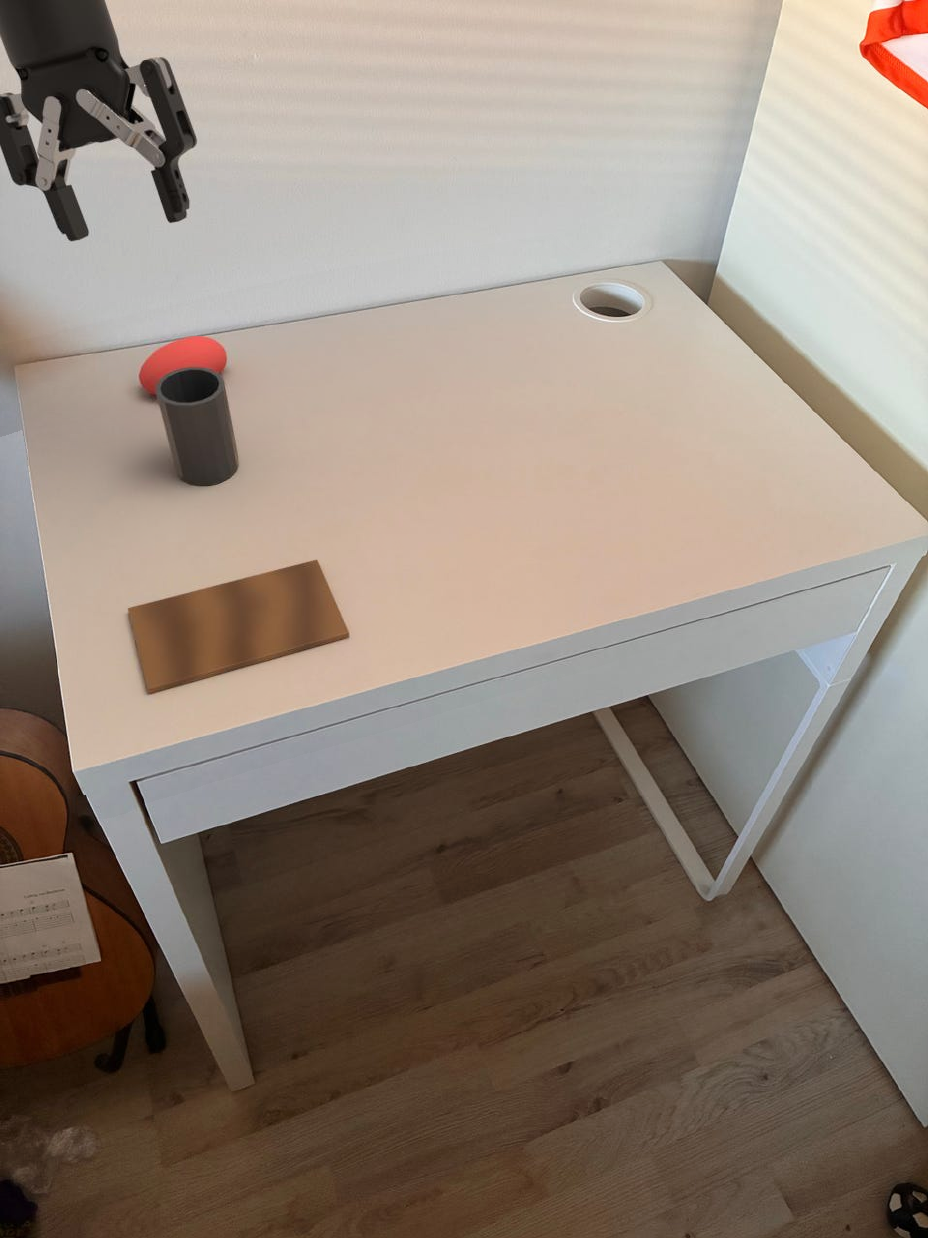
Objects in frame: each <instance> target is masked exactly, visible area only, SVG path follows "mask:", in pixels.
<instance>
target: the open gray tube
mask: <svg viewBox="0 0 928 1238" xmlns="http://www.w3.org/2000/svg"><path fill="white" fill-rule="evenodd" d="M155 391H156V395H155V396H156V398H157V404H158V407H159V410H160V414H161V418H162V422H163V426H164V430H165V434H166V438H167V443H168V445H169V450H170V454H171V458H172V462H173V465H174V469H175V473H176V475H177V476H178V478H180V480H181V481H183V482H184V483H187V484H189V485H194V486H201V487H203V486H205V487H206V486H213V485H218V484H221V483H223V482H225V481H227V480H229V479H230V478H231V477H232V476H234V475H235V473H236V472H237V471H238V469H239V467H240V466H239V465H240V461H239V454H238V448H237V443H236V442H237V441H236V437H235V431H234V426H233V421H232V415H231V410H230V405H229V400H228V394H227V388H226V384H225V380H224V378H223V376H222V375H221V373H220V374H218V373H217V372H215V371H214V370H211V369H207V368H204V367H187V368H182V369H177V370H174V371H172V372H170V373H168V374H166V375H164V376H163V377H162V378H161V379H160V380H159V381H158V383H157V385H156V388H155Z"/></svg>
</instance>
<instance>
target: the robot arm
mask: <svg viewBox="0 0 928 1238" xmlns="http://www.w3.org/2000/svg"><path fill="white" fill-rule="evenodd" d="M0 40H1V42H2V45H3V47H4V50H5V53H6V55H7V58H8V60H9V62H10V64H11V66H12V68H13V69H14V70H15V72H16V73H17V75H18V77H19V81H20V93H13V92H4V93H0V149H1V152H2V155H3V158H4V161H5V163H6V166H7V169H8V173H9V175H10V178H11V180H12V181H13V183H14V184H15V185H16V186H29V187H34V188H38V190H40V191H41V192H42V193H43V195H44V197H45V200H46V202H47V204H48V207H49V210H50V213H51V214H52V218H53V220H54V222H55V225H56V227H57V229H58V230H59V232H60V233H61V234H62V235H65V236H66V238H67V240H68V241H70V242H75V241H80V240H83V239H84V238H87V237H88V236H89V233H90V231H89V228H88V224H87V223H86V220H85V217H84V214H83V211H82V209H81V207H80V204H79V201H78V198H77V196H76V193H75V191H74V188H73V186H72V184H68V185H67V181H68V176H69V172H70V168H71V167H70V166H71V162H72V159H73V158H74V157H75V155H76V152H77V149H78V148H82V147H86V146H90V145H92V144H94V143H98V144H99V143H106V142H111V141H115V140H119V141H121V142H122V143H123V144H124V145H126V146H128V147H130V148H133V149H134V150H135V151H136V152H137V153H138V154H139V155H140V156H142V157H143V158H144V159H145V160H146V161H148V163H149V164H151V165H152V167H154V169H153V170H150V173H151V176H152V180H153V183H154V185H155V188H156V191H157V194H158V197H159V200H160V203H161V206H162V210H163V212H164V215H165V218H166V220H167V222H168V223H169V224H173V223H178V222H181V221H183V220H185V219H187V216H188V213H187V210H189V209H190V198H189V195H188V192H187V189H186V187H185V186H186V185H185V182H184V179H183V176H182V172H181V170H180V166H179V161H180V158H181V157H182V156H183V155H185V153H187V152H189V151H190V150H191V149H194V148H195V147H197V144H198V139H197V136H196V133H195V130H194V127H193V124H192V122H191V119H190V116H189V113H188V111H187V108H186V105H185V102H184V100H183V96H182V94H181V91H180V89H179V86H178V82H177V80H176V77H175V74H174V72H173V69H172V67H171V64H170V62H169V60H167V58H165V57H163V56H160V57H150V58H147V59H143V60H142V61H141V62H140V64H137V65H133V66H129V65H128V64H127V62H126V61H125V59H124V58H123V56H122V54H121V51H120V50H121V49H120V45H119V39H118V36H117V33H116V29H115V27H114V24H113V20H112V17H111V15H110V11H109V9H108V5H107V3H106V0H0ZM137 86H138V87H139V89H140V91H141V92H142V94H143V95H144V96H145V97H147V98H149V99H150V102H151V104H152V107H153V108H154V112H155V114H156V117H157V119H158V123H159V125H160V128H161V130H162V132H163V135H162V134H161V133H160V132H159V131H158V130H157V128H156V126H155V124H154V123H153V122H152V121H151V120H150V119H149V118H148V117H147V116H146V115H144V114H143V113H142V112H141V111H140V110H139V109H138V108H137V107H135V105H133V102H134V98H135V93H136V88H137ZM30 114H31V115H32V116H33V118H35V119H36V120H37V121H38V122H39V123H40V124H41V129H40V134H39V140H38V144H37V145H38V146H37V150H36V147H35V144H34V142H33V138H32V136H31V131H30V130H29V127H28V123H29V120H30Z"/></svg>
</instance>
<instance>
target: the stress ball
mask: <svg viewBox="0 0 928 1238" xmlns="http://www.w3.org/2000/svg"><path fill="white" fill-rule="evenodd" d="M227 361H228V356H227V351H226V349H225V347H224V346H223V344H221V343H220V342H219V341H217V340H216V339H215V338H212V337H207V336H203V335H191V336H188V337H183V338H180V339H177V340H175V341H174V340H173V341H172V342H169V343H167V344H165V345H163V346H160V347H159V348H158V349H157V350H155V351H154V352H153V353H151V354H150V356H149V357H147V358H146V359H145V361H144V362H143V364H142V365H141V367H140V371H139V373H138V380H139V384H140V385H141V387H142V388H143V389H144V390H145V391H146V392H147V393H149V394H151V395H155V396H157V395H156V391H155V388H156V385H157V383H158V381H159V380H160V379H161V378H162V377H163V376H164V375H166V374H168V373H170V372H172V371H174V370H177V369H182V368H187V367H204V368H207V369H211V370H214V371H215V372H217V373H218V374H220V375H221V373H222V372H223V371H224V369H225V368H226V366H227V363H228V362H227Z"/></svg>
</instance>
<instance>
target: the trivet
mask: <svg viewBox="0 0 928 1238" xmlns="http://www.w3.org/2000/svg"><path fill="white" fill-rule="evenodd" d="M127 611H128V617H129V619H130V623H131V628H132V632H133V636H134V640H135V641H134V642H135V645H136V648H137V653H138V657H139V661H140V665H141V670H142V673H143V679H144V683H145V687H146V690H147V693H148V695H149V694H153V693H157V692H161V691H165V690H169V689H171V688H175V687H178V686H181V685H185V684H189V683H192V682H193V683H194V682H196V681H199V680H203V679H207V678H210V677H213V676H216V675H220V674H224V673H227V672H231V671H234V670H235V671H236V670H238V669H241V668H245V667H248V666H253V665H256V664H259V663H263V662H266V661H270V660H274V659H277V658H280V657H284V656H287V655H291V654H294V653H298V652H301V651H306V650H309V649H311V648H312V649H313V648H316V647H319V646H322V645H326V644H331V643H333V642H337V641H340V640H343V639H347V638H350V631H349V630H348V626H347V625H346V622H345V620H344V618H343V615H342V613H341V611H340V607H339V606H338V604H337V601H336V600H335V597H334V595H333V593H332V590H331V588H330V585H329V584H328V581H327V578H326V577H325V574H324V571H323V569H322V567H321V564H320V563H319V560H318V559H314V560H309V561H305V562H300V563H297V564H294V565H289V566H286V567H282V568H278V569H274V570H271V571H267V572H262V573H259V574H255V575H252V576H251V575H250V576H248V577H243V578H240V579H236V580H231V581H227V582H224V583H220V584H217V585H212V586H208V587H205V588H201V589H197V590H193V591H189V592H186V593H181V594H177V595H174V596H170V597H169V596H168V597H165V598H162V599H158V600H154V601H150V602H145V603H143V604H139V605H138V604H137V605H134V606H131V607H128V608H127Z"/></svg>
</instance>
